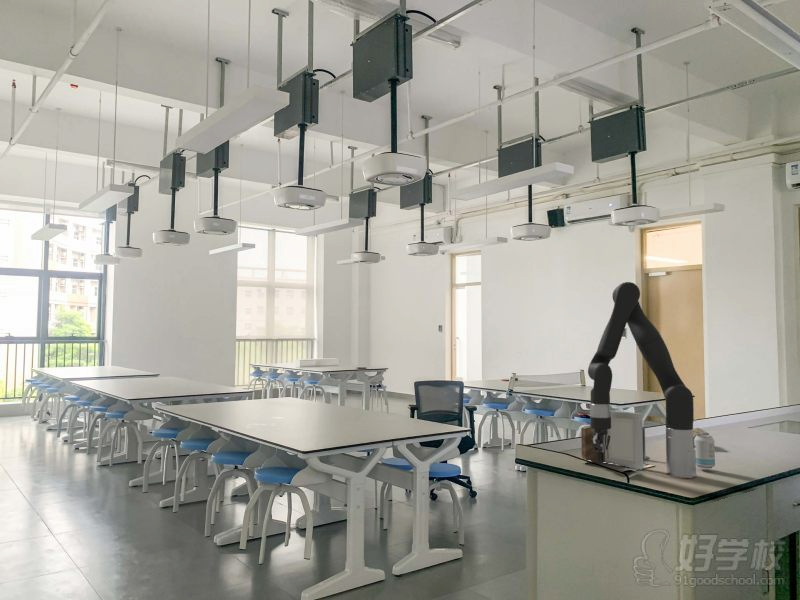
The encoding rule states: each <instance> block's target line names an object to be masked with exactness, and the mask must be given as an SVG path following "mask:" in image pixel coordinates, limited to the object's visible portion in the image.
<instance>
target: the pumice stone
mask: <svg viewBox="0 0 800 600" xmlns="http://www.w3.org/2000/svg"><path fill="white" fill-rule="evenodd" d="M697 434H705V435H710V432H706V431H705V430H704V429H701V428H700V427H693V446H694V439H695V437H696V435H697Z"/></svg>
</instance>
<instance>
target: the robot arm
mask: <svg viewBox="0 0 800 600" xmlns="http://www.w3.org/2000/svg"><path fill="white" fill-rule="evenodd" d="M640 297H641V291H640V288H639V286H637V284H635V283H634V282H630V281H626V282H622V283H620V284H618V286H617V287H615V288H614V290H613V291H612V301H613V304H614V305H613V309H612V312H611V315H610V317H609V320H608V322H607V323H606V326H605V329H604V331H603V332H602V335H601V338H600V341H599V344H598V346H597V348H596V349H597V350H596V352H595V353H594V355H593V357H592V358H591V360H590V362H589V366H588V367H587V375H588V376H589V378H590V379H591V380H593V388H592V389H591V390H590V407H589V426H590V427H591V428H593V429H594V439H593V438H591V442H592V445H593V447H594V450H595V451H597V452H598V460H597V462H598V463H601V464H603V462H605V452H606V450H607V449H608V445H609V442H610V438H611V436H609V435H608V431H607V429H611V410H612V409H611V388H612V382H613V372H612V371H613V370H612V368H611V367H610V366H609V365H610V362H611V360H614V359H615V357H616V355H617V353H618V350H619V348H620V343H621V340H622V338H623V335H624V332H625V329H626V326H628V328H629V330H630V334H631V335H632V337H633V339H634V341H635V343H636V346H637V348H638V350H639V352H640V353H641V355H642V357H643V359H644V360H645V362H646V364H647V366H649V368H650V370H651V371H652V372H653V374H654V376H655V377H656V379H657V381H658V384H659V386H660V389H661V391H662V394H663V398H664V399H665V400H664V401H665V454H666V456H665V457H666V459H665V460H666V462H665V463H666V474H667V476H670V477H674V478H681V479H693V478H695V477H696V476H697V465H696V451H695V449H694V446H693V429H694V421H695V420H694V418H695V417H694V416H695V415H694V411H695V410H694V409H695V408H694V396H693V392H692V391H691V389H689V388H688V387H687V386H686V384H685V383H684V382H683V380H682V379H681V377H680V376H679V374H678V372H677V370H676V368H675V366H674V363H673V359H672V356H671V354H670V351H669V349H668V347H667V345H666V343H665V341H664V339H663V337H662V335H661V333H660V332H659V331H658V329H657V328H656V327H655V325H654V324H653V323H652V322H651V320H650V319H649V318H648V317H647V315H646V314H645V312H644V311H643V309H642V306H641V303H640V302H639V299H640Z"/></svg>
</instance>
